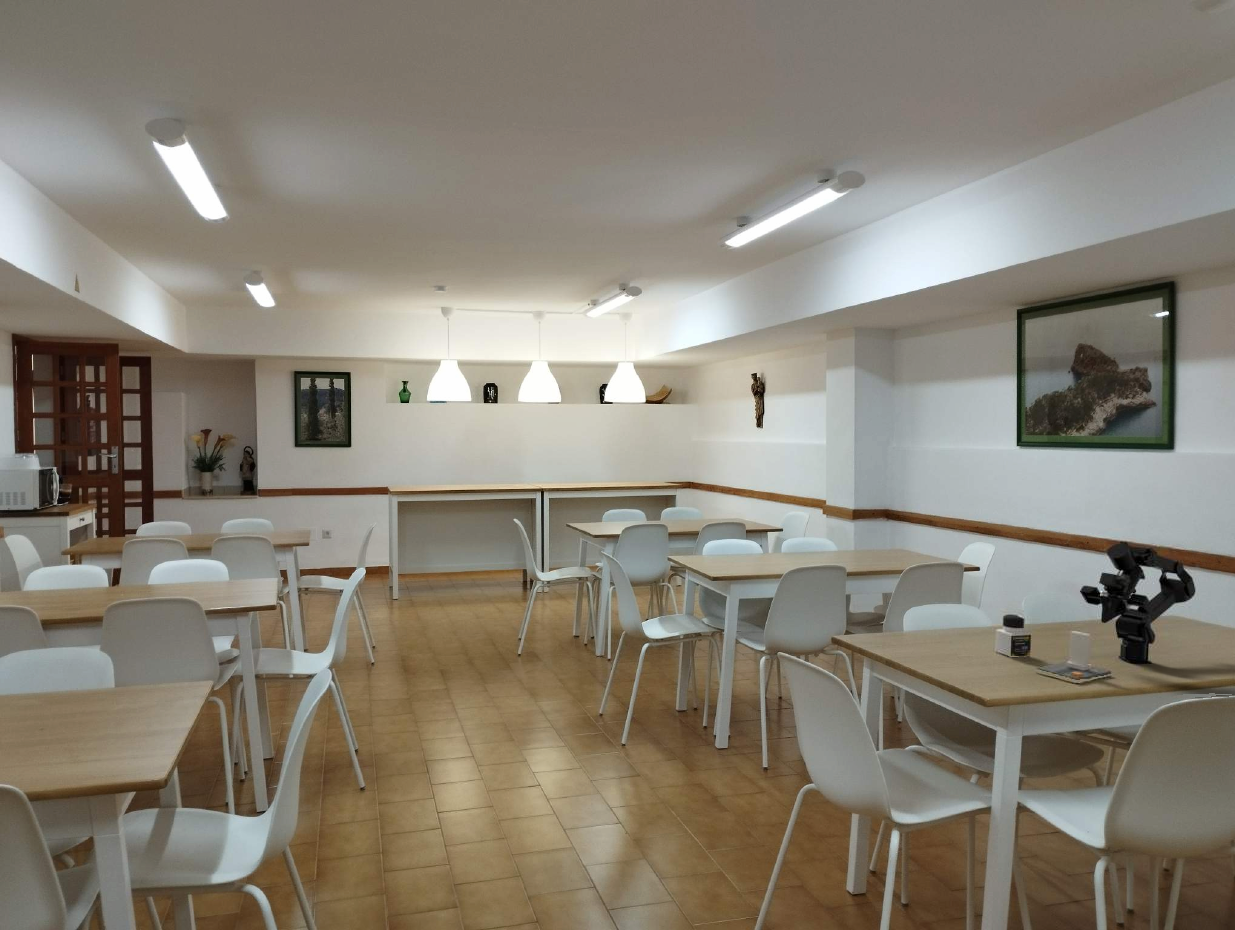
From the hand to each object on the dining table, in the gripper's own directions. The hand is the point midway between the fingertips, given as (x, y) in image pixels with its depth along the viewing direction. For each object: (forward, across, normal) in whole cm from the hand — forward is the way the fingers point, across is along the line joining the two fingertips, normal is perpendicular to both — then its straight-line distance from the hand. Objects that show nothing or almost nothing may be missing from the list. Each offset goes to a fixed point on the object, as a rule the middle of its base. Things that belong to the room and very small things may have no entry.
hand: (1103, 622), depth 256 cm
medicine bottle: (+16, -22, +3) cm, 28 cm away
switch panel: (+19, 0, 0) cm, 19 cm away
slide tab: (+16, 0, +1) cm, 16 cm away
